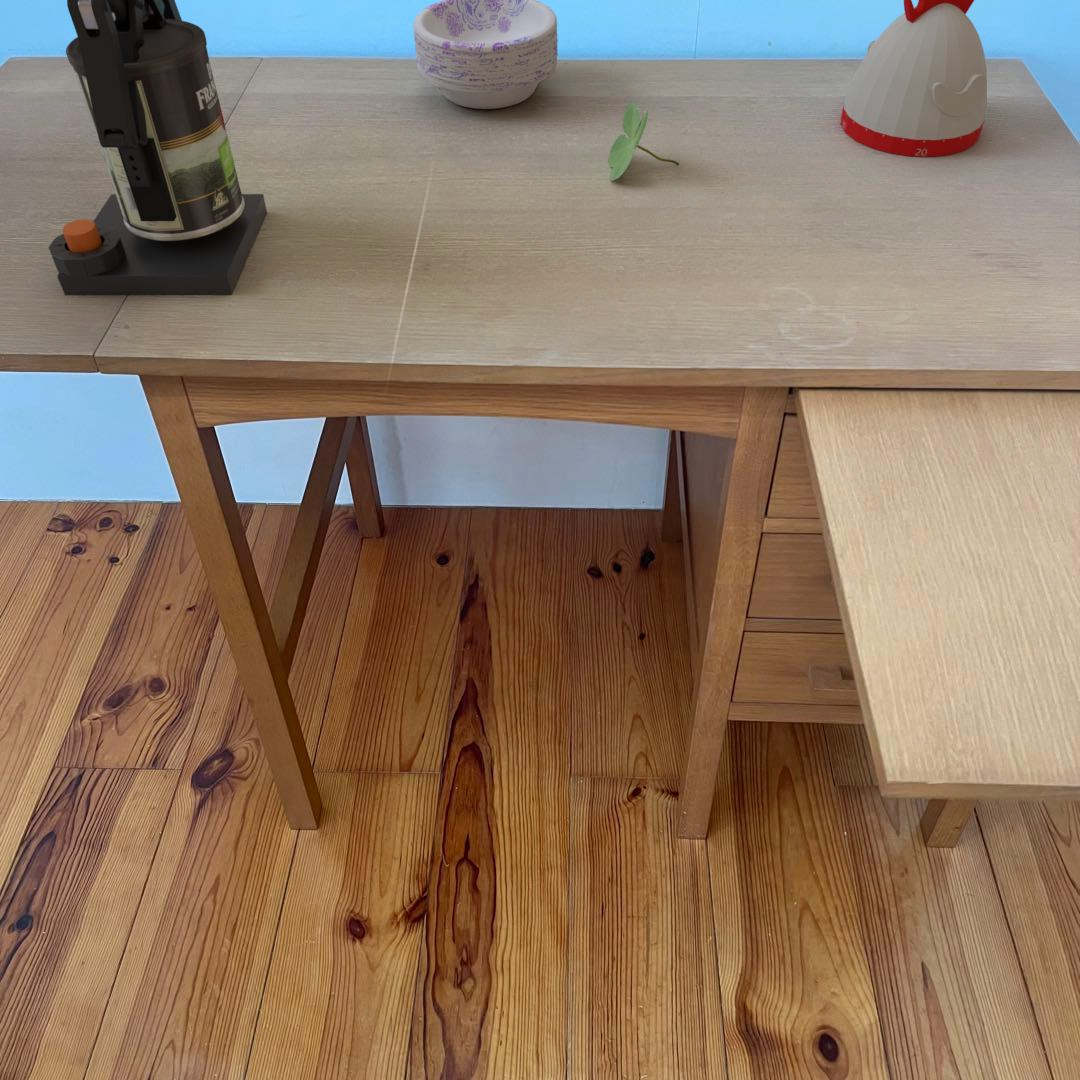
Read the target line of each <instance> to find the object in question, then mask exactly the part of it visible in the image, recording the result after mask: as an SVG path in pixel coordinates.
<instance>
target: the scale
mask: <svg viewBox="0 0 1080 1080" xmlns="http://www.w3.org/2000/svg"><path fill="white" fill-rule="evenodd" d="M242 197H243V198H244V202H245V206H244V210H243V212H242V214H241V215H240V216H239V218H238V219H237V220H235V221H234V222H233V223H232V224H231V225H229V226H227V227H225V228H223V229H221V230H219V231H217V232H214V233H212V234H209V235H206V236H202V237H198V238H193V239H188V240H178V241H158V240H151V239H147V238H142V237H139V236H137V235H135V234H133V233H132V232H131V231H129V230H128V229H127V227H126V226H125V224H124V218H123V215H122V211H121V208H120V205H119V202H118V199H117V196H116V193H115V194H113V193H112V194H110V195H109V197H108V199H107V200H106V201H105V202H104V204H103V206H102V208H101V209H100V210H99V212H98V213H97V214H96V216H95V218H94V219H93V220H92V221H93V222H94V223H95V224H96V227H97V230H98V233H99V235H100V238H101V241H102V245H101V246H99V247H98V248H96V249H94V250H91V251H88V252H84V253H73V252H71V251H70V250H69V247H68V245H67V242H66V240H65V237H64V234H63V233H62V234H60V235H58V236H56V237H54V239H53V240H52V242H51V243H50V244H49V245H48V250H49V253H50V255H51V258H52V260H53V263H54V265H55V268H56V271H57V273H58V274H57V276H56V277H57V280H58V281H59V285H60V287H61V290H62V292H63V294H64V296H233V294H234V291H235V289H236V287H237V284H238V282H239V280H240V278H241V275H242V273H243V271H244V268H245V266H246V264H247V261H248V259H249V256H250V254H251V252H252V250H253V247H254V244H255V242H256V240H257V237H258V235H259V233H260V230H261V228H262V226H263V224H264V222H265V219H266V216H267V214H268V211H267V206H266V205H267V204H266V201H265V197H264V194H263V193H242Z"/></svg>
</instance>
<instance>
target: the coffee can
mask: <svg viewBox="0 0 1080 1080" xmlns="http://www.w3.org/2000/svg"><path fill="white" fill-rule="evenodd" d="M165 20H166V26H165V27H164V28H163V29H145V30H143V31H144V45H143V46H142V47H141V48H140V49H139V59H138V60H137V62H135V63H124V68H125V74H126V79H127V82H129V81H131V80H133V79H135V80H136V83H137V86H138V90H139V93H140V97H141V100H142V104H143V107H144V111H145V119H146V129H147V137H148V138H154V141H155V144H156V148H157V151H158V155H159V158H160V161H161V165H162V168H163V172H164V175H165V178H166V182H167V185H168V189H169V192H170V196H171V199H172V202H173V206H174V209H175V213H176V216H177V217H176V219H175V221H141V219H140V216H139V213H138V210H137V207H136V204H135V201H134V198H133V194H132V191H131V188H130V185H129V182H128V179H127V176H126V173H125V170H124V166H123V163H122V160H121V157H120V154H119V151H118V148H110V147H109V148H104V147H102V146H101V144H100V141H99V137H98V132H97V127H96V123H95V118H94V113H93V108H92V103H91V99H90V94H89V89H88V84H87V79H86V75H85V70H84V65H83V60H82V55H81V50H80V46H79V41H78V36H77V37H75V38H74V39H72V40H71V41H70V42H69V44H67V46H66V48H65V54H66V57H67V60H68V62H69V64H70V66H71V67H72V68H73V72H74V74H75V78H76V79H77V80H76V81H77V84H78V86H79V89H80V92H81V95H82V98H83V101H84V104H85V107H86V109H87V113H88V116H89V119H90V122H91V125H92V128H93V131H94V134H95V138H96V140H97V143H98V145H99V149H100V152H101V154H102V157H103V161H104V164H105V167H106V170H107V172H108V175H109V178H110V181H111V184H112V187H113V190H114V193H115V194H116V196H117V199H118V202H119V205H120V208H121V211H122V215H123V218H124V224H125V226H126V227H127V229H128V230H129V231H131V232H132V233H133V234H135V235H137V236H139V237H142V238H147V239H151V240H158V241H178V240H188V239H193V238H198V237H202V236H206V235H209V234H212V233H214V232H217V231H219V230H221V229H223V228H225V227H227V226H229V225H231V224H232V223H233V222H234V221H235V220H237V219H238V218H239V216H240V215H241V214H242V212H243V210H244V206H245V202H244V198H243V197H242V194H243V193H242V189H241V185H240V182H239V177H238V173H237V169H236V166H235V161H234V157H233V153H232V148H231V144H230V141H229V136H228V133H227V128H226V123H225V119H224V116H223V111H222V107H221V103H220V99H219V94H218V90H217V87H216V82H215V78H214V74H213V69H212V65H211V61H210V57H209V53H208V48H207V45H208V43H207V37H206V33H205V31H204V30H203V28H202V27H200V26H199V25H197V24H194V23H192V22H189V21H185V20H182V21H181V20H174V19H165Z"/></svg>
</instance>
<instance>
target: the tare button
mask: <svg viewBox="0 0 1080 1080" xmlns="http://www.w3.org/2000/svg"><path fill="white" fill-rule="evenodd" d="M93 221H94V220H91V219H87V218H86V219H82V218H81V219H76V220H72V221H70V222H68V223H66V224H65V225H64V226H63V227H62V228H61V229H62V230H61V231H62V234H64V237H65V240H66V242H67V245H68V247H69V250H70V251H71V252H73V253H84V252H88V251H91V250H94V249H96V248H98V247H99V246H101V245H102V241H101V238H100V235H99V233H98V230H97V227H96V224H95V223H94V222H93Z"/></svg>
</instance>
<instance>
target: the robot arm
mask: <svg viewBox="0 0 1080 1080" xmlns="http://www.w3.org/2000/svg"><path fill="white" fill-rule="evenodd" d="M66 5H67V10H68V13H69V15H70V19H71V21H72V24H73V27H74V29H75V32H76V36H77V37H78V41H79V46H80V50H81V55H82V60H83V65H84V70H85V75H86V79H87V84H88V89H89V94H90V99H91V103H92V108H93V113H94V118H95V123H96V127H97V132H98V137H99V141H100V144H101V146H102V147H104V148H109V147H110V148H118V151H119V154H120V157H121V160H122V163H123V166H124V170H125V173H126V176H127V179H128V182H129V185H130V188H131V191H132V194H133V198H134V201H135V204H136V207H137V210H138V213H139V216H140V219H141V221H175V219H176V217H177V216H176V213H175V209H174V206H173V202H172V199H171V196H170V192H169V189H168V185H167V182H166V178H165V175H164V172H163V168H162V165H161V161H160V158H159V155H158V151H157V148H156V144H155V141H154V138H148V137H147V129H146V119H145V111H144V107H143V104H142V100H141V97H140V93H139V90H138V86H137V83H136V80H135V79H133V80H131V81H129V82H127V79H126V74H125V68H124V63H135V62H137V60H138V59H139V49H140V48H141V47H142V46H143V45H144V31H143V30H145V29H163V28H164V27H165V26H166V20H165V19H174V20H181V21H183V20H182V16H181V13H180V11H179V9H178V6H177V3H176V0H66Z"/></svg>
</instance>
